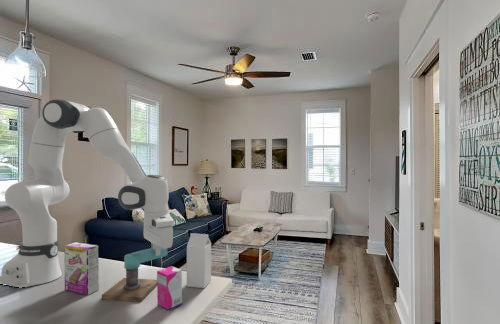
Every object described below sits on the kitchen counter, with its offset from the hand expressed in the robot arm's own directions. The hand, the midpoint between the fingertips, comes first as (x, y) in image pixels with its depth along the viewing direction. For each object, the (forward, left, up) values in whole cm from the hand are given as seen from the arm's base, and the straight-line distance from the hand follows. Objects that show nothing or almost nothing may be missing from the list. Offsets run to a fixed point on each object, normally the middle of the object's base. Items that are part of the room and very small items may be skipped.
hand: (157, 255), depth 111 cm
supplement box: (+10, -14, -12) cm, 21 cm away
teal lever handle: (-3, -1, -2) cm, 4 cm away
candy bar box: (-25, -8, -12) cm, 28 cm away
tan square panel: (-7, -6, -11) cm, 14 cm away
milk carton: (+15, +3, -12) cm, 19 cm away
